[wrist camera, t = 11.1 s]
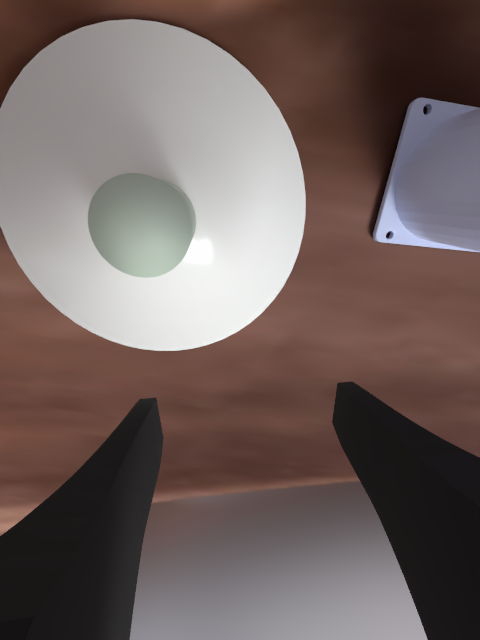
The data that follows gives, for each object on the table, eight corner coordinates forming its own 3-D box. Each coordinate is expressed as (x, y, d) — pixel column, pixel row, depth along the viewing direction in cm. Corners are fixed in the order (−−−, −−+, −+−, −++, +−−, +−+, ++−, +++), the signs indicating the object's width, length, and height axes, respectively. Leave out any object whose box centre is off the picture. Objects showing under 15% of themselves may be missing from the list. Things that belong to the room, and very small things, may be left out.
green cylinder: (197, 184, 17) (193, 179, 12) (194, 259, 18) (189, 281, 14) (118, 174, 16) (82, 166, 11) (123, 253, 18) (92, 273, 13)
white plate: (330, 62, 16) (335, 55, 15) (278, 350, 22) (280, 356, 22) (-40, -7, 13) (-54, -19, 12) (31, 339, 20) (24, 344, 19)
